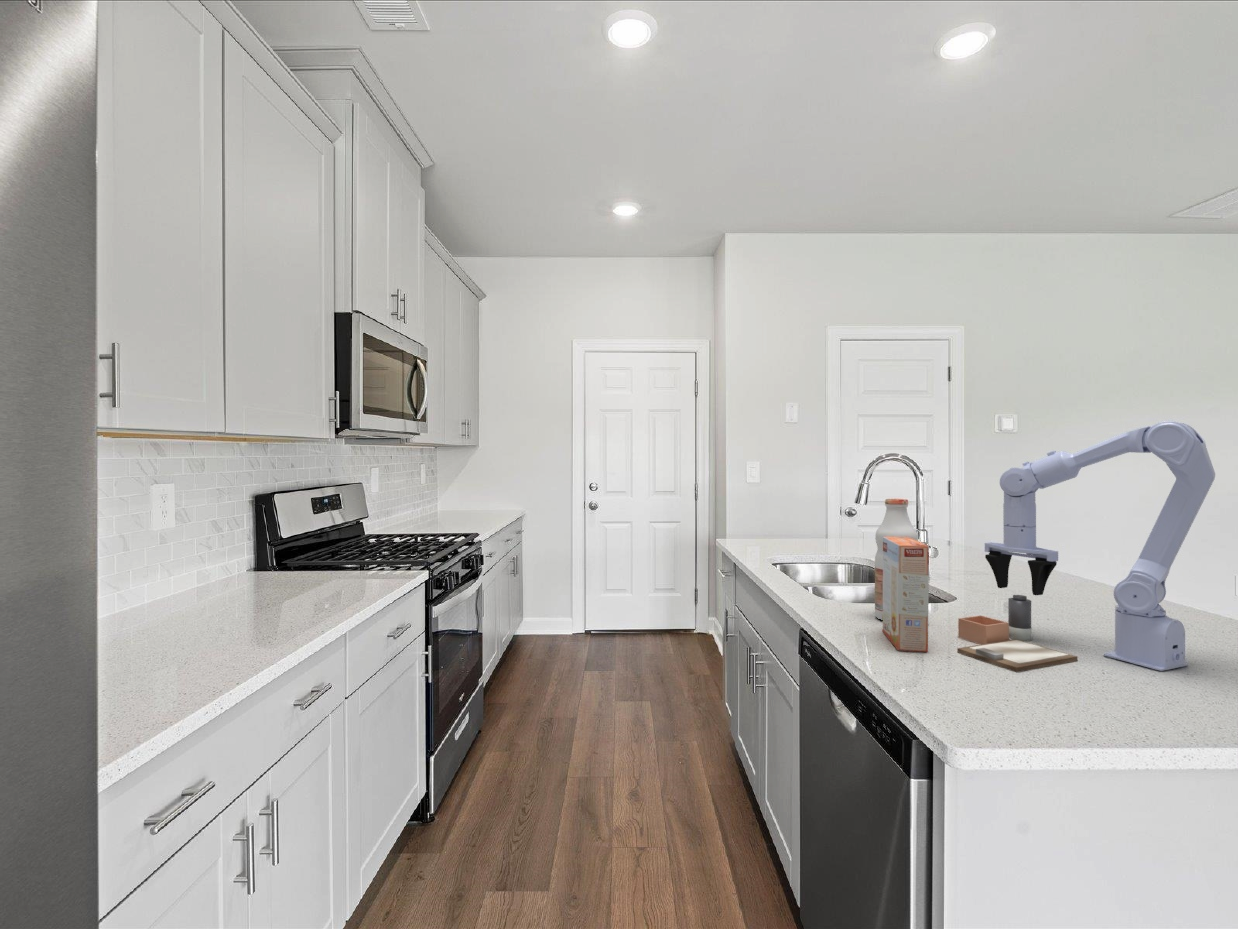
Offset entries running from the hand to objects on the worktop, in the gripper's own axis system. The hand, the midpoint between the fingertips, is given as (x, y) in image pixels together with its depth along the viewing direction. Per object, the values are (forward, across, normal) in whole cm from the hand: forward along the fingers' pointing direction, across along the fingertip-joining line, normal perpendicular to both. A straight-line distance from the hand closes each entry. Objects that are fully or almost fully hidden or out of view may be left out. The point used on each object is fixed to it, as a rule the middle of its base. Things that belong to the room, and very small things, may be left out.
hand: (1019, 591), depth 130 cm
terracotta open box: (+10, +2, +8) cm, 13 cm away
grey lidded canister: (+10, 0, 0) cm, 10 cm away
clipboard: (+10, -8, +12) cm, 18 cm away
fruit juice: (+10, +21, +12) cm, 26 cm away
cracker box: (+10, +7, +24) cm, 27 cm away
